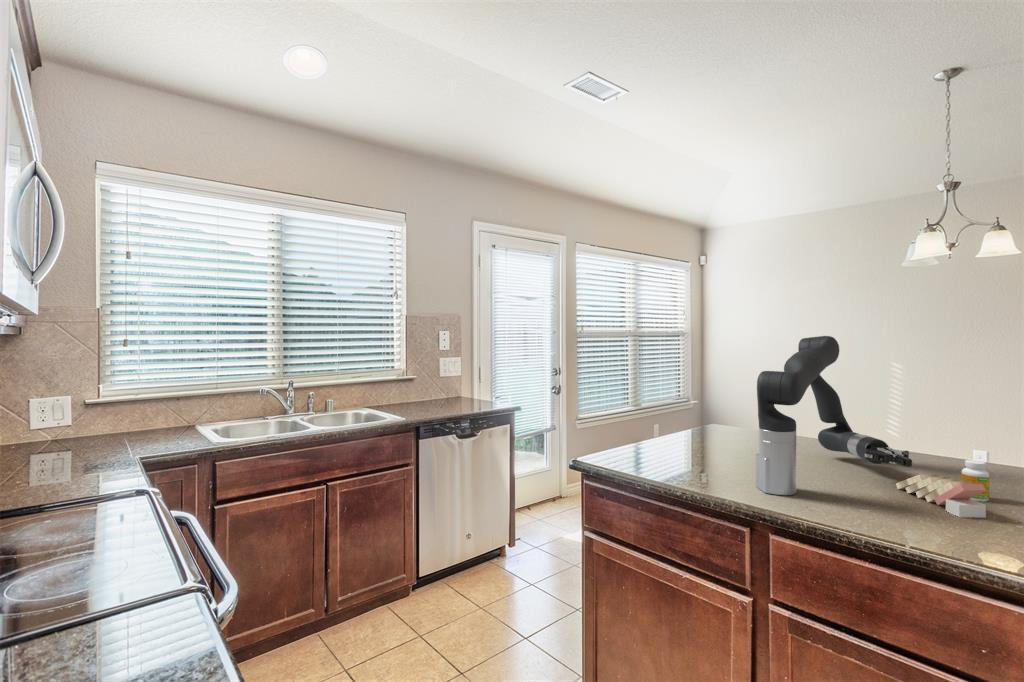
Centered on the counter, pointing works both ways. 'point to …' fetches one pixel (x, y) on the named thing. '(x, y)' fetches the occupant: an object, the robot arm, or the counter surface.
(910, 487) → the domino
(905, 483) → the domino
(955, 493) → the domino
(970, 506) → the block
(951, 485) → the domino
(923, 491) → the domino
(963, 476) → the supplement bottle
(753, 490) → the counter surface
